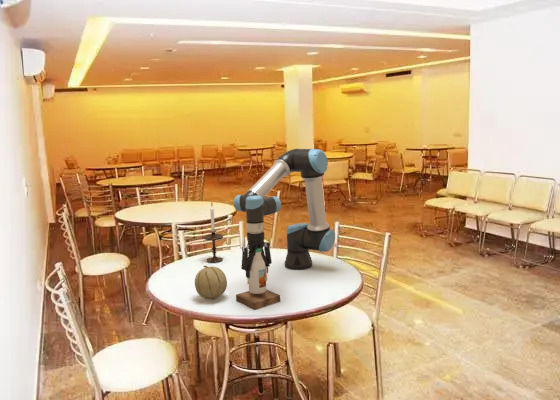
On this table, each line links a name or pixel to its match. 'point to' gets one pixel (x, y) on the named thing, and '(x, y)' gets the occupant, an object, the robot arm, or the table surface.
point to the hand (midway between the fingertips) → (257, 282)
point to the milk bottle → (258, 274)
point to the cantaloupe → (210, 282)
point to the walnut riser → (257, 299)
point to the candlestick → (213, 239)
